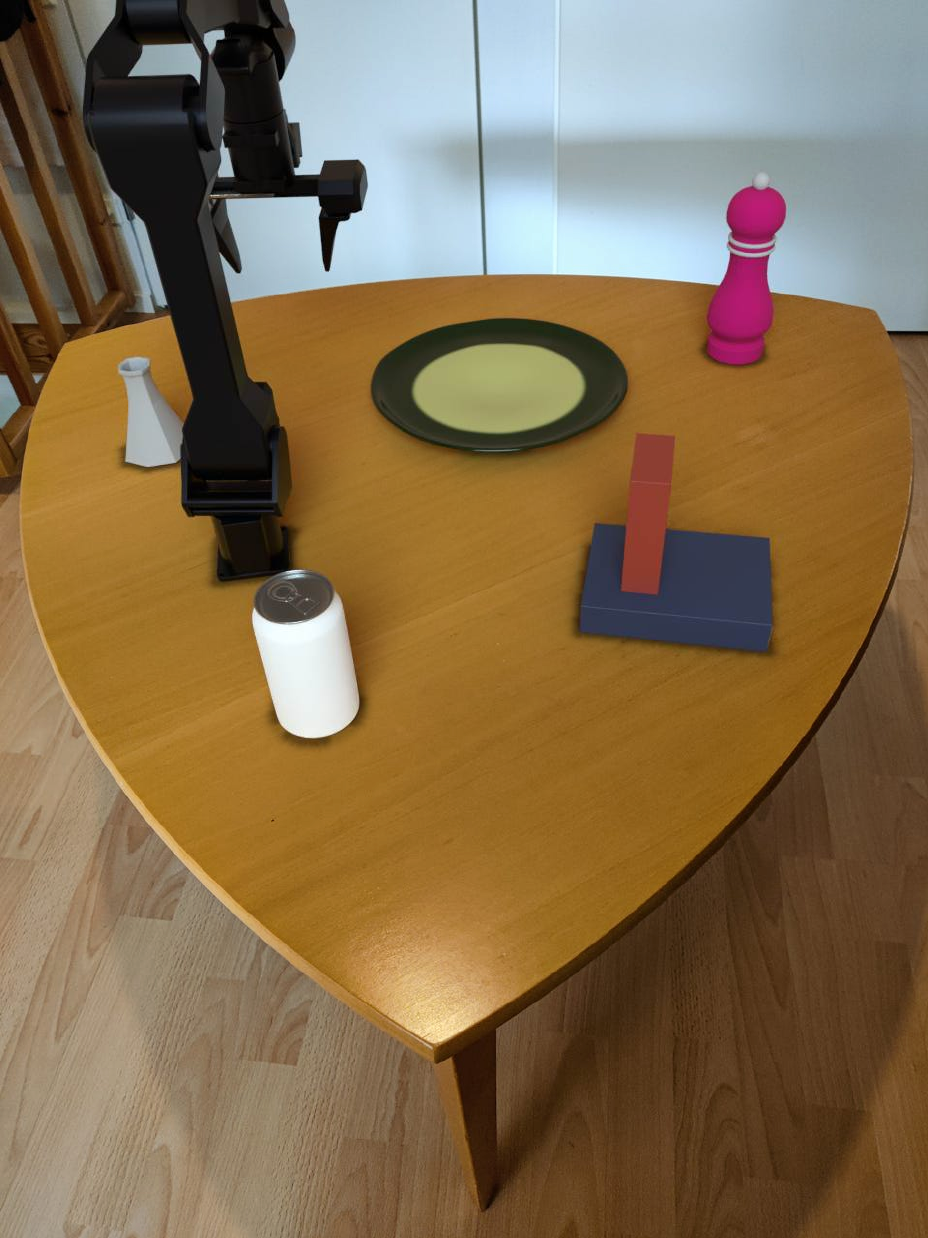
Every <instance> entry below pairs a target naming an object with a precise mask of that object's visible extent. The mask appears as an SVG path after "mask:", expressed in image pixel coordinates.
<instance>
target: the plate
mask: <svg viewBox="0 0 928 1238" xmlns="http://www.w3.org/2000/svg"><path fill="white" fill-rule="evenodd" d="M628 387H629V375H628V372H627V369H626V366H625V364H624V363H623V361H622V359H621V358H620V357H619V355H618V354H617V353H616V351H614V350H613V349H612V348H611V347H610V346H609V345H608V344H606V343H604V342H603V341H601V340H600V339H598V338H596V336H593V335H591V334H589V333H586V332H584V331H582V330H579V329H577V328H573V327H572V326H571V327H570V326H567V325H564V324H561V323H555V322H551V321H547V320H540V319H533V318H532V319H531V318H520V317H496V318H494V317H493V318H485V319H478V320H472V321H466V322H465V321H464V322H459V323H453V324H448V325H444V326H439V327H436V328H433V329H429V330H428V331H425V332H422V333H420V334H418V335H416V336H413V337H411V338H410V339H408V340H406V341H404V342H402V343H401V344H399V345H398V346H396V347H394V348H393V349H391V350H390V351H388V352H387V353H385V355H384V356H383V357H381V359H380V360H379V361H378V363H377V364H376V366H375V369H374V371H373V374H372V377H371V382H370V397H371V400H372V402H373V406H374V407H375V408H376V410H377V411H378V413H379V414H380V415H381V416H382V417H383V418H384V419H385V420H387V422H389V423H391V425H393V426H394V427H396V428H397V429H398V430H400V431H401V432H403V433H404V434H406V435H408V436H410V437H412V438H415V439H417V440H419V441H421V442H424V443H428V444H431V445H434V446H438V447H442V448H446V449H453V450H457V451H467V452H476V453H477V452H479V453H506V452H520V451H528V450H534V449H541V448H545V447H548V446H552V445H556V444H559V443H562V442H565V441H568V440H569V439H573V438H575V437H577V436H580V435H581V434H584V433H586V432H588V431H589V430H592V429H593V428H595V427H597V426H599V425H600V424H602V423H604V422H605V421H607V419H609V418H610V417H611V416H612V415H614V413H615V412H616V411H617V410H618V409H619V408H620V406H621V405H622V404H623V402H624V400H625V397H626V395H627V392H628Z"/></svg>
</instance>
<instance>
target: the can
mask: <svg viewBox="0 0 928 1238" xmlns="http://www.w3.org/2000/svg"><path fill="white" fill-rule="evenodd" d="M344 609H345V608H344V605H343V602H342V599H341V597H340V595H339V594H338V593H337V591H336V590H335V587H334V584H333V582H332V580H330V579H329V578H328V577H327V576H326V575H324V574H323V573H321V572H319V571H316V570H311V569H303V568H302V569H301V568H299V569H297V568H296V569H290V570H289V571H285V572H281V573H279V574H276V575H271V577H268V578H267V579H266V580H264V581H263V582H262V583H261V584H260V585H259V587H258V588H257V589H256V591H255V593H254V596H253V610H252V615H251V620H252V621H251V622H252V626H253V631H254V635H255V638H256V643H257V647H258V650H259V654H260V658H261V662H262V666H263V670H264V674H265V677H266V681H267V685H268V688H269V692H270V696H271V699H272V703H273V707H274V710H275V714H276V716H277V720H278V723H279V724H280V725H281V726H282V727H283V729H285V730H286V731H287V732H288V733H290V734H292V735H293V736H297V737H300V738H305V739H323V738H327V737H331V736H333V735H336V734H337V733H339V732H341V731H342V730H343V729H345V728H347V726H349V725H350V724H351V722H352V721H353V720H354V719H355V718H356V715H357V714H358V711H359V708H360V696H359V688H358V683H357V682H358V681H357V675H356V671H355V670H356V669H355V665H354V660H353V659H354V658H353V653H352V647H351V642H350V636H349V631H348V624H347V621H346V620H347V619H346V614H345V610H344Z"/></svg>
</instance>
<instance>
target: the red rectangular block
mask: <svg viewBox="0 0 928 1238" xmlns="http://www.w3.org/2000/svg"><path fill="white" fill-rule="evenodd" d="M635 434H636V435H635V443H634V449H633V455H632V456H633V457H632V463H631V464H632V465H631V470H630V471H631V473H630V479H629V490H628V502H627V512H626V525H625V526H626V536H625V548H624V560H623V572H622V583H621V591H624V592H635V593H645V594H655V595H658V591H659V582H660V574H661V566H662V557H663V549H664V540H665V532H666V529H667V524H668V523H667V522H668V515H669V506H670V498H671V489H672V481H673V468H674V456H675V446H676V445H675V443H676V435H671V434H670V435H669V434H668V435H667V434H654V433H653V434H652V433H640V432H637V433H635Z"/></svg>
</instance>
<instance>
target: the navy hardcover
mask: <svg viewBox="0 0 928 1238" xmlns="http://www.w3.org/2000/svg"><path fill="white" fill-rule="evenodd" d="M591 536H592V538H591V543H590V549H589V555H588V561H587V567H586V573H585V577H584V578H585V579H584V585H583V590H582V597H581V603H580V613H579V614H580V615H579V633H583V634H592V635H600V636H601V635H602V636H611V637H618V638H619V637H621V638H629V639H630V638H631V639H639V640H648V641H656V642H657V641H658V642H667V643H677V644H685V645H697V646H706V647H715V648H724V649H725V648H726V649H735V650H743V651H744V650H745V651H753V652H761V653H762V652H763V653H766V652H768V647H769V644H770V639H771V635H772V632H773V631H772V630H773V625H774V624H773V623H774V622H773V598H772V595H773V594H772V565H771V538H770V537H765V536H764V537H763V536H752V535H741V534H729V533H719V532H717V533H716V532H706V531H693V530H683V529H671V528H669V529H668V528H666V532H665V540H664V549H663V557H662V566H661V574H660V582H659V591H658V595H655V594H645V593H635V592H624V591H621V583H622V572H623V560H624V548H625V536H626V525H624V524H613V523H612V524H611V523H600V522H594V525H593V530H592V535H591Z"/></svg>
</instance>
